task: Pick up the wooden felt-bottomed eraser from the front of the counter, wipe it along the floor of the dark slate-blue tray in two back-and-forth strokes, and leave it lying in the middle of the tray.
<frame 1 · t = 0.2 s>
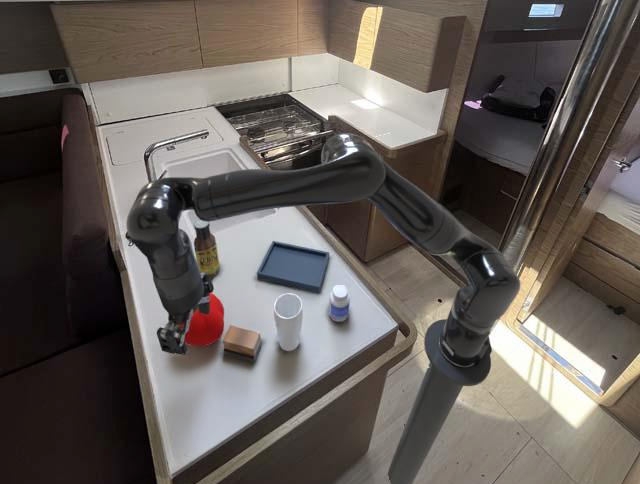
hand: (194, 330, 67), 17 cm above the counter, tool pointing down, fingers open, 8 cm apart
drinking glass: (289, 341, 83), on the counter
pill bottle: (338, 313, 90), on the counter
eraser: (243, 348, 81), on the counter
sauce bottle: (210, 271, 101), on the counter
tomato: (206, 333, 84), on the counter
tray: (294, 267, 103), on the counter
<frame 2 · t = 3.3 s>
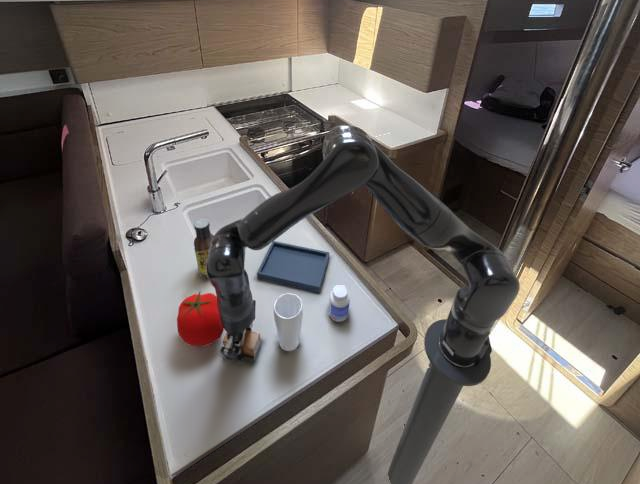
hand: (243, 347, 81), 0 cm above the counter, tool pointing down, fingers closed on eraser, 5 cm apart
eraser: (243, 348, 81), on the counter, touching gripper
everything else where it was.
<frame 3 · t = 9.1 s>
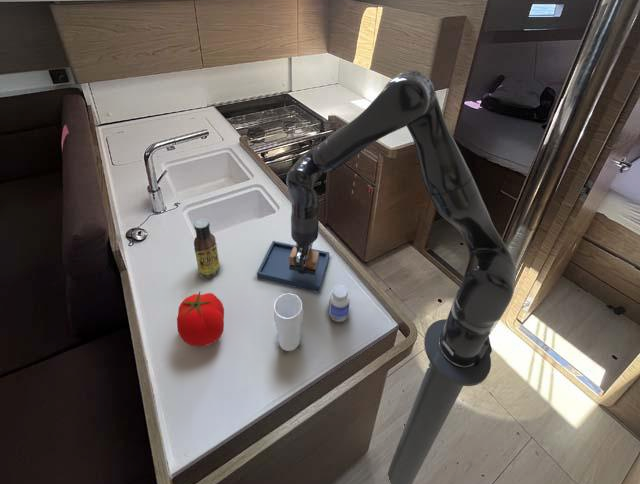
hand: (304, 264, 97), 5 cm above the counter, tool pointing down, fingers closed on eraser, 5 cm apart
eraser: (304, 265, 97), point 5 cm above the counter, touching gripper
everything else where it was.
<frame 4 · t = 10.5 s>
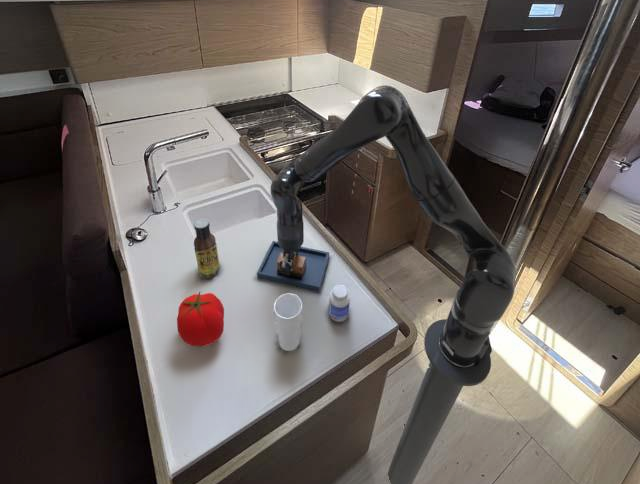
hand: (291, 269, 100), 1 cm above the counter, tool pointing down, fingers closed on eraser, 5 cm apart
eraser: (291, 270, 100), point 1 cm above the counter, touching gripper
everything else where it was.
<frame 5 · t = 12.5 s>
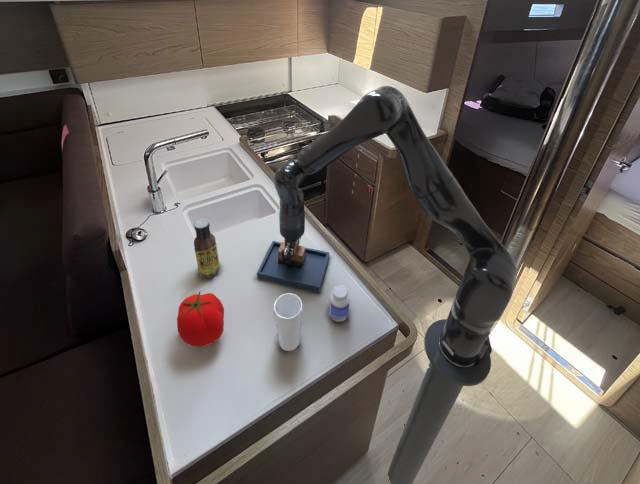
hand: (292, 259, 104), 1 cm above the counter, tool pointing down, fingers closed on eraser, 5 cm apart
eraser: (292, 259, 104), point 1 cm above the counter, touching gripper
everything else where it was.
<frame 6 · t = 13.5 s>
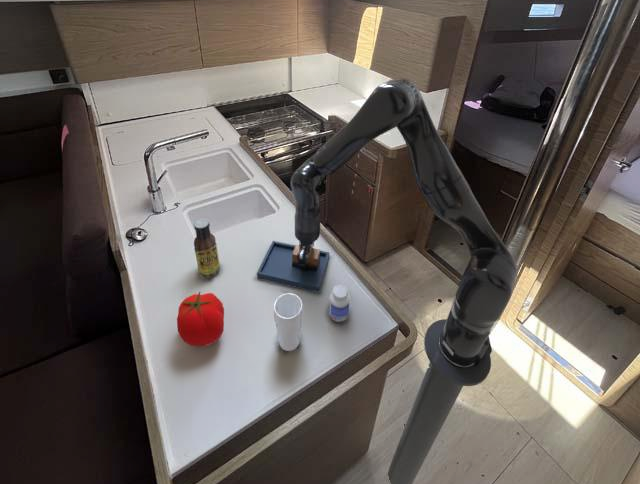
hand: (306, 262, 103), 1 cm above the counter, tool pointing down, fingers closed on eraser, 5 cm apart
eraser: (306, 262, 103), point 1 cm above the counter, touching gripper
everything else where it was.
when the fingers open (1 cm above the counter, at t = 15.2 s): eraser stays where it is, resting on tray.
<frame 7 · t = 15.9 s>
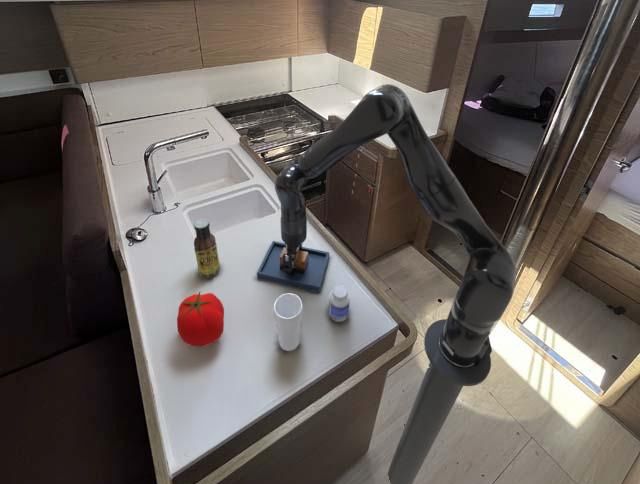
hand: (294, 263, 102), 2 cm above the counter, tool pointing down, fingers open, 8 cm apart
eraser: (294, 265, 102), point 1 cm above the counter, touching tray
everything else where it was.
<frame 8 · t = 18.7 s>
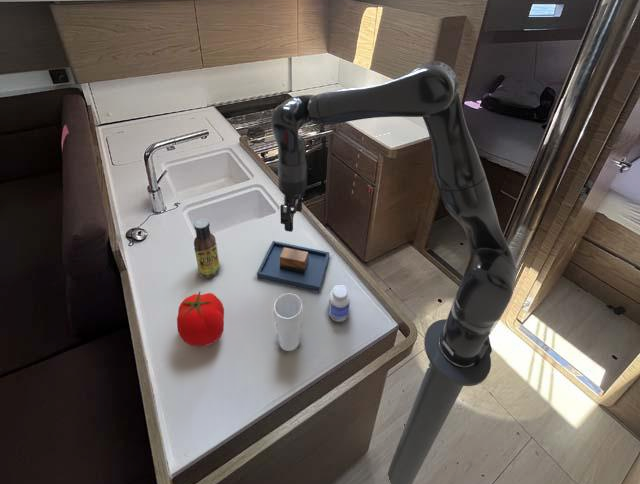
hand: (293, 220, 92), 20 cm above the counter, tool pointing down, fingers open, 8 cm apart
nothing on the counter moved.
at the end: eraser inside the target area in the tray (0.1 cm from its centre), point 1.0 cm above the tray's base; eraser tilted 0°; the gripper is holding nothing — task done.
